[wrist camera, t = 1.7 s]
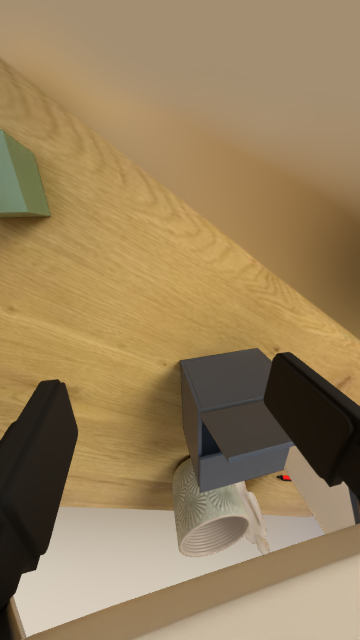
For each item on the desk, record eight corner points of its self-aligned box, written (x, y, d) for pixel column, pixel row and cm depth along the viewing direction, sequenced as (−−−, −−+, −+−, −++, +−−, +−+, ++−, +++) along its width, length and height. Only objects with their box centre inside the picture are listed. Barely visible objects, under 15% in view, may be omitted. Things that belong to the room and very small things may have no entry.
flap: (200, 416, 21) (199, 413, 21) (305, 394, 24) (304, 391, 24) (228, 463, 14) (227, 458, 14) (375, 425, 16) (375, 420, 16)
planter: (157, 483, 42) (165, 559, 32) (186, 442, 39) (204, 514, 29) (205, 486, 46) (225, 555, 37) (235, 451, 43) (265, 515, 33)
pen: (277, 474, 51) (280, 479, 50) (324, 478, 58) (327, 482, 57) (275, 476, 52) (278, 481, 51) (322, 479, 58) (325, 484, 57)
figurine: (228, 495, 50) (255, 567, 40) (210, 486, 47) (234, 562, 36) (252, 478, 49) (286, 547, 39) (236, 467, 46) (267, 540, 35)
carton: (179, 360, 31) (199, 416, 21) (257, 347, 33) (306, 393, 24) (183, 428, 37) (199, 494, 28) (248, 413, 39) (283, 470, 30)
